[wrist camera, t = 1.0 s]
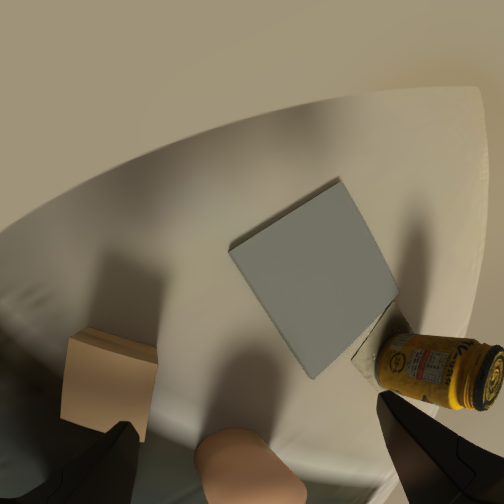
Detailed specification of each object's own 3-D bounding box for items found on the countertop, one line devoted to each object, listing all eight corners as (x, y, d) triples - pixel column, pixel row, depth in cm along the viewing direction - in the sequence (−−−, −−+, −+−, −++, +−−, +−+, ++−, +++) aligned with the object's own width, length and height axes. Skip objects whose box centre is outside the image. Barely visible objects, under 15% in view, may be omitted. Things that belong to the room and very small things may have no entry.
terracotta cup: (245, 489, 19) (277, 538, 12) (181, 473, 17) (198, 529, 11) (278, 439, 20) (323, 480, 14) (214, 417, 19) (243, 465, 12)
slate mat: (309, 377, 22) (312, 379, 21) (227, 252, 21) (230, 251, 20) (395, 292, 26) (399, 292, 25) (337, 183, 25) (341, 180, 24)
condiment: (389, 404, 25) (483, 434, 13) (349, 360, 23) (464, 388, 12) (423, 350, 27) (515, 359, 16) (391, 300, 26) (499, 297, 15)
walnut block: (144, 410, 17) (144, 442, 13) (78, 391, 16) (60, 418, 11) (156, 346, 18) (158, 364, 14) (88, 326, 17) (69, 337, 12)
